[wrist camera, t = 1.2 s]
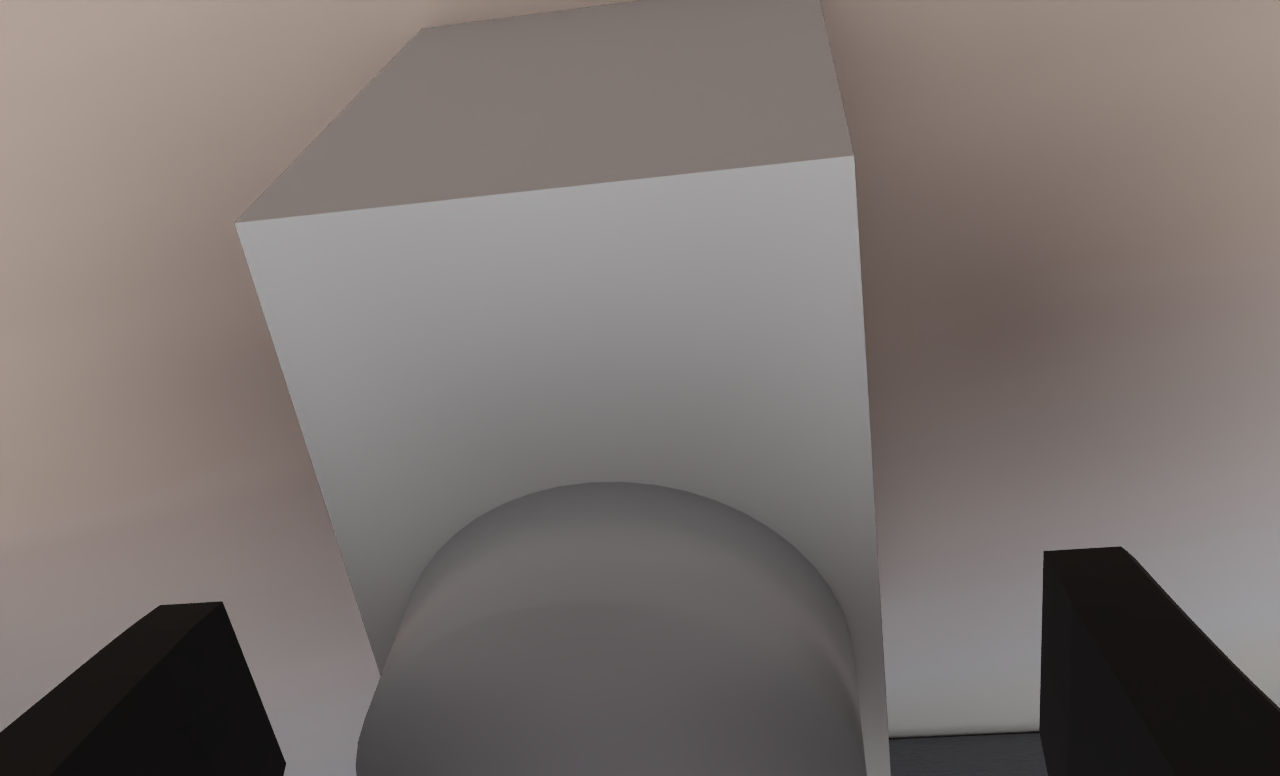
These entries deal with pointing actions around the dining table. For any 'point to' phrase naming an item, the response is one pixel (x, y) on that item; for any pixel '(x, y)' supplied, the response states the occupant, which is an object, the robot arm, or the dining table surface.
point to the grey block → (593, 394)
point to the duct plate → (968, 756)
